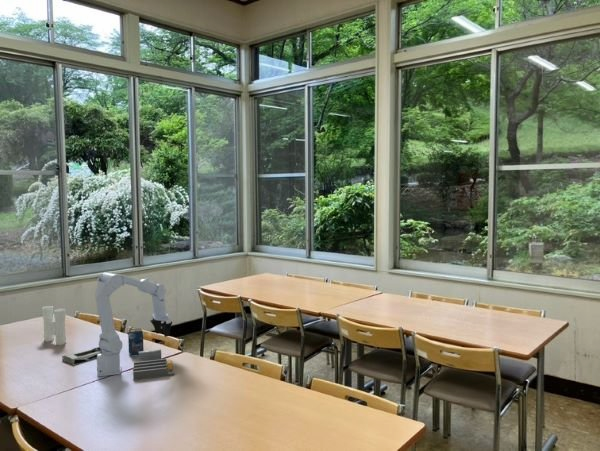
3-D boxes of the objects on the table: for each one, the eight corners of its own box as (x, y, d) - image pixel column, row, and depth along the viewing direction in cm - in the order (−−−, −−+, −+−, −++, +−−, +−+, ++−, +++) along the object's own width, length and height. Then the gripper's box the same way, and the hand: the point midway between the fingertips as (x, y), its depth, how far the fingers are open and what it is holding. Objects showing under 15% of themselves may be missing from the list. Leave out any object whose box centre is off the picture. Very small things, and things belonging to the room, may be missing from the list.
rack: (133, 380, 200) (133, 370, 200) (134, 369, 212) (133, 361, 212) (173, 375, 206) (173, 366, 205) (172, 365, 217) (171, 357, 217)
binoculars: (41, 340, 256) (40, 307, 255) (51, 337, 261) (50, 305, 260) (58, 345, 247) (57, 311, 245) (68, 342, 251) (67, 309, 250)
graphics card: (62, 355, 223) (110, 342, 243) (62, 362, 223) (111, 348, 243) (72, 360, 217) (121, 346, 237) (72, 367, 217) (122, 352, 237)
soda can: (134, 357, 229) (133, 333, 228) (125, 354, 233) (125, 330, 232) (146, 353, 234) (145, 329, 233) (138, 350, 238) (137, 327, 238)
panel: (139, 365, 218) (138, 352, 218) (139, 364, 220) (138, 351, 219) (161, 362, 221) (161, 350, 221) (161, 361, 223) (161, 349, 222)
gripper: (174, 308, 226) (178, 335, 228) (159, 303, 236) (162, 328, 238) (161, 312, 221) (165, 339, 223) (146, 307, 231) (149, 333, 233)
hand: (162, 334), depth 231 cm, fingers open, 7 cm apart
